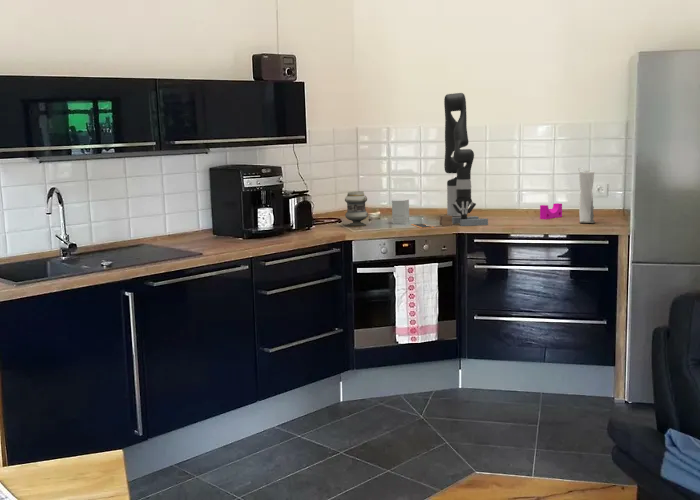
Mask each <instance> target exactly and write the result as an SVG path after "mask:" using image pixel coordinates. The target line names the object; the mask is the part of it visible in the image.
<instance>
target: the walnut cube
mask: <svg viewBox="0 0 700 500" xmlns="http://www.w3.org/2000/svg"><path fill="white" fill-rule="evenodd" d="M452 217H453V216H450V215H447V214H445V215H443V214H442V215H439V226H441V225H442V227H448V226H449V227H450V226H453V223H452Z"/></svg>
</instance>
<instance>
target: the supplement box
mask: <svg viewBox="0 0 700 500" xmlns="http://www.w3.org/2000/svg"><path fill="white" fill-rule="evenodd" d="M391 218H392V220H391V221H392V224H393V225H406V224H409V223H410V199H405V198H404V199H393V200H391Z"/></svg>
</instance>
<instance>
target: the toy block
mask: <svg viewBox="0 0 700 500" xmlns="http://www.w3.org/2000/svg"><path fill="white" fill-rule="evenodd" d="M562 217H563V203H560V202H559V203H553V204H552V208H549V205H547V204H541V205H539V219H540V220H550V219H551V220H552V219H556V218H557V219H558V218H562Z"/></svg>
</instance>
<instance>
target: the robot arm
mask: <svg viewBox="0 0 700 500" xmlns="http://www.w3.org/2000/svg"><path fill="white" fill-rule="evenodd" d="M443 98H444V99H443V100H444V101H443V104H444V144H445V145H444V146H445V150H444V171H445V173H446V174H456V176H455V177H454V178H451V179H448V180H447V182H446V188H447V189H446V191H447V194H446V200H447V201H446V207H447V208H446V213H447V214H446V215H450V216H452V217H461V220H464V219H467V217H468V214H470V213H472V210H474V209H475V207H476V205H477V203H475V202H473V200H472V181H471V179H472V178H471V177H472V176H471V174H472V173H471V172H472V171H471V170H472V165H473V162H474V159H475V154H474V151H473V150H472V149H471V148H465V147H467V146H468V145H469V136H468V128H467V127H468V126H467V118H468V117H467V101H466V95H465V93H463V92H457V93H456V92H454V93H447V94H446V95H445V96H444V97H443ZM459 111H460V115H459V117H458V120H456V119H455V117H454V116H453V114H452V112H459ZM461 148H463V149H461Z"/></svg>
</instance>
